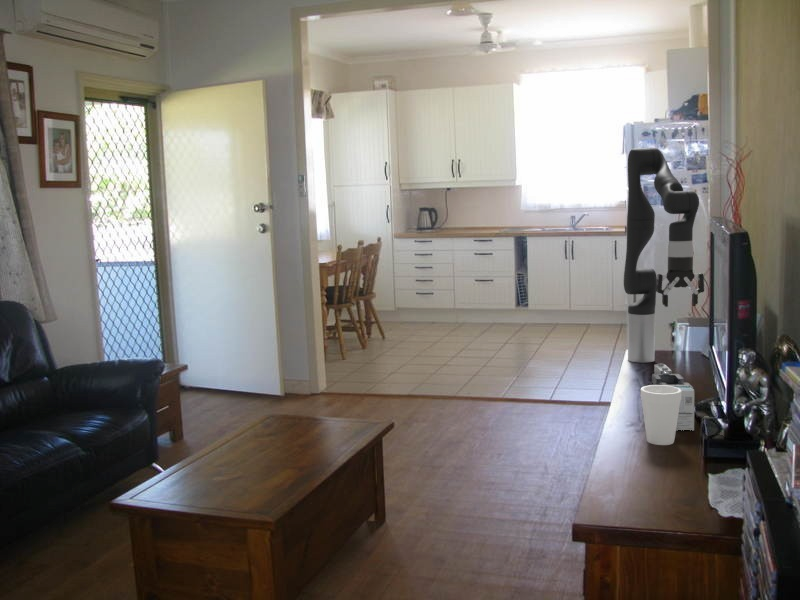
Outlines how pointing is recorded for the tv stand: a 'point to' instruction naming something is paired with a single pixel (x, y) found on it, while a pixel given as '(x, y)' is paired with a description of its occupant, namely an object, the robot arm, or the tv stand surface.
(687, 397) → the light bulb box
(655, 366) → the bolted link plate
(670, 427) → the foam cup
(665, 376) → the end link
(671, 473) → the tv stand surface
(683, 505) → the tv stand surface
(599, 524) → the tv stand surface
